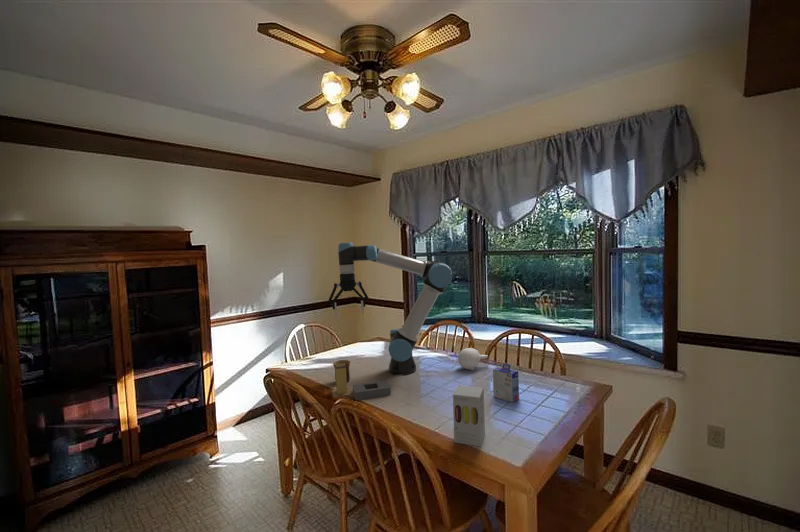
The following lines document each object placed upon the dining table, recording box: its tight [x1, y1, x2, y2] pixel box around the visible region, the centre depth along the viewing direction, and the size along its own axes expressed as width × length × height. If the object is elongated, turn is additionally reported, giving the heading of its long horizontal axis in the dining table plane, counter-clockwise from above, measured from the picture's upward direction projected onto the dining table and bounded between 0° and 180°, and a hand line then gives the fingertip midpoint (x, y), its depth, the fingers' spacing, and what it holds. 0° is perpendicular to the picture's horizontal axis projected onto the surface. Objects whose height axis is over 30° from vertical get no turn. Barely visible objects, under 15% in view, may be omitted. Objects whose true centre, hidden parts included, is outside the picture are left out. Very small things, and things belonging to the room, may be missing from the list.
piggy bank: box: [457, 347, 489, 371], centre depth 198 cm, size 12×12×15 cm
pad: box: [331, 386, 353, 398], centre depth 171 cm, size 9×9×1 cm
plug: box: [335, 363, 348, 394], centre depth 171 cm, size 4×4×13 cm
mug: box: [332, 359, 351, 383], centre depth 184 cm, size 12×9×10 cm
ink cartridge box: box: [492, 362, 520, 403], centre depth 156 cm, size 10×6×14 cm, turn 42°
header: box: [352, 379, 392, 401], centre depth 167 cm, size 16×10×4 cm, turn 104°
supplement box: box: [452, 384, 486, 448], centre depth 125 cm, size 10×9×17 cm
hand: (349, 314), depth 185 cm, fingers open, 13 cm apart
